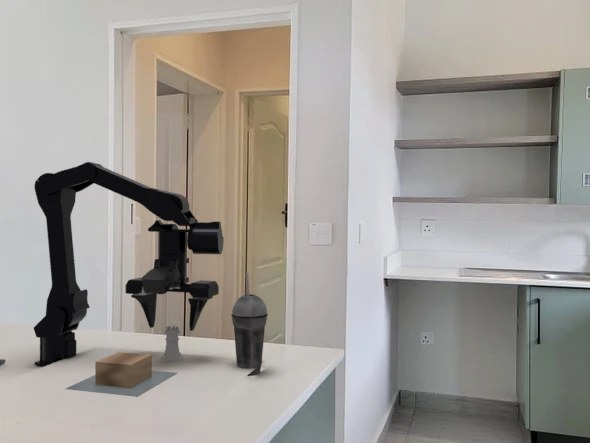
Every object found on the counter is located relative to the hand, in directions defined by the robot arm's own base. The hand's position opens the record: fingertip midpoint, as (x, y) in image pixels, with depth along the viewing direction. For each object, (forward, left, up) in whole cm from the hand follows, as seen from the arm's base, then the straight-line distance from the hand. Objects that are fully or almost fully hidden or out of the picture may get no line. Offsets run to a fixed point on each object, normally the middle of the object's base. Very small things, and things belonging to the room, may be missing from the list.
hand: (171, 328), depth 113 cm
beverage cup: (+17, 0, -8) cm, 19 cm away
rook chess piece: (0, 0, -8) cm, 8 cm away
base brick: (-1, -16, -6) cm, 17 cm away
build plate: (-1, -16, -8) cm, 18 cm away
